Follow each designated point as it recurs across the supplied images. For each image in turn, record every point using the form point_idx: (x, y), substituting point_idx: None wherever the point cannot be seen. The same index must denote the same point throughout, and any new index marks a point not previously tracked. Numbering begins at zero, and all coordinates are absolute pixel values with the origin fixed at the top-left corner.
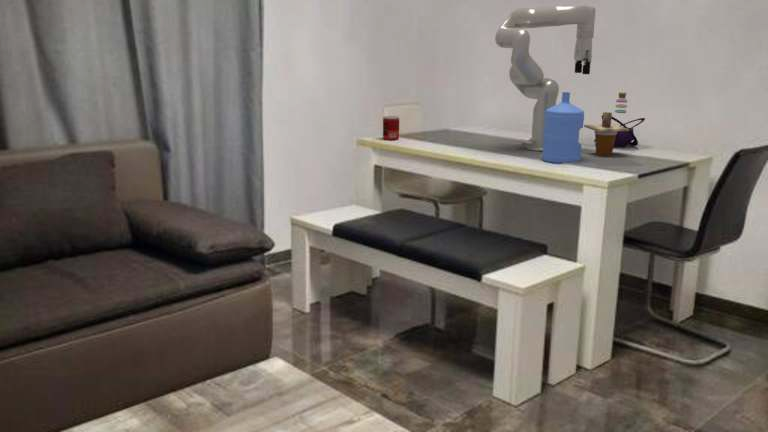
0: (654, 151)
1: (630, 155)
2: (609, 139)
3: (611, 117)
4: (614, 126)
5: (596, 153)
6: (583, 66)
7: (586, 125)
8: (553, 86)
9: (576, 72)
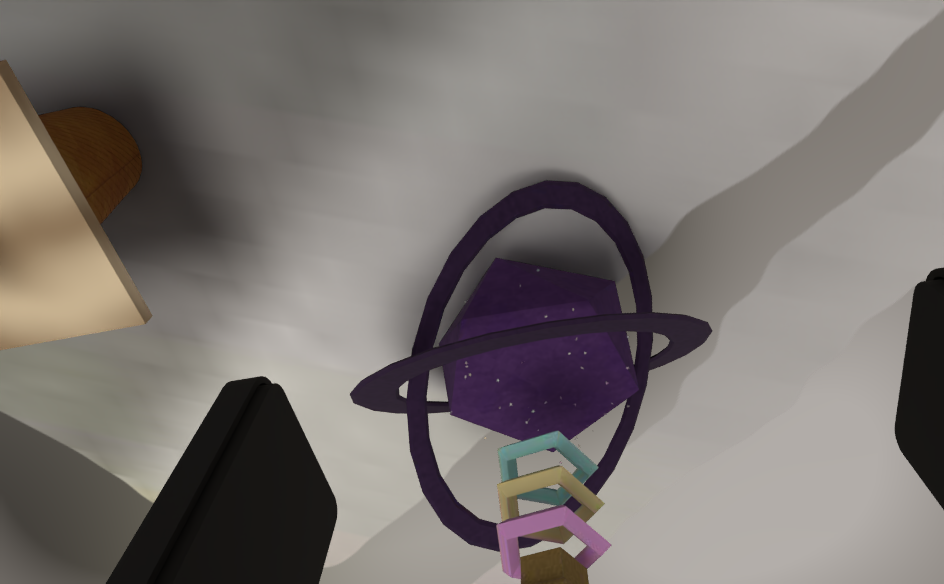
0: (395, 438)
1: (216, 307)
2: None
3: None
4: (31, 299)
5: (58, 111)
6: (114, 573)
7: None
8: None
9: (911, 310)
